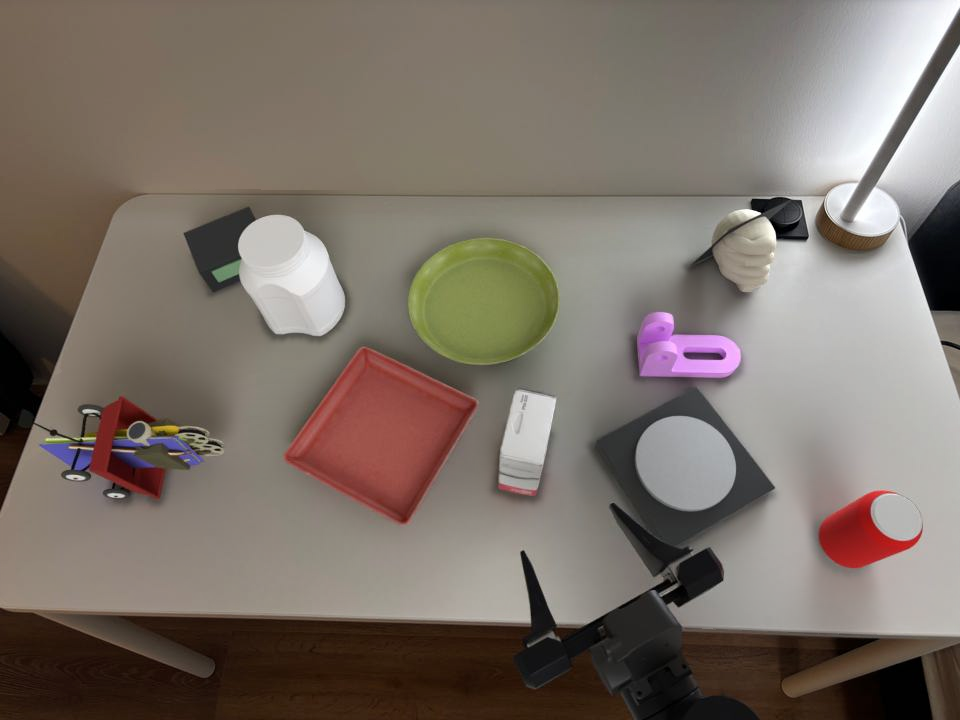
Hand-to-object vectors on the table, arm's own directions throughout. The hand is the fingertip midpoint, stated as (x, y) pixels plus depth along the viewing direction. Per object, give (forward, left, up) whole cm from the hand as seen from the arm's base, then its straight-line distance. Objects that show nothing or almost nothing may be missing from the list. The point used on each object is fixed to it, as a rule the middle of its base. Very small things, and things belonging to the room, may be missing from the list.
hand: (566, 527), depth 58 cm
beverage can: (-13, -30, -19) cm, 38 cm away
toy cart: (+35, +38, -19) cm, 55 cm away
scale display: (+61, +19, -18) cm, 66 cm away
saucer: (+35, -9, -19) cm, 40 cm away
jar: (+48, +13, -19) cm, 53 cm away
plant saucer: (+24, +11, -19) cm, 32 cm away
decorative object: (+23, -43, -19) cm, 52 cm away
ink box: (+13, -3, -19) cm, 23 cm away
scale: (+3, -19, -18) cm, 27 cm away
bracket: (+15, -29, -19) cm, 38 cm away
